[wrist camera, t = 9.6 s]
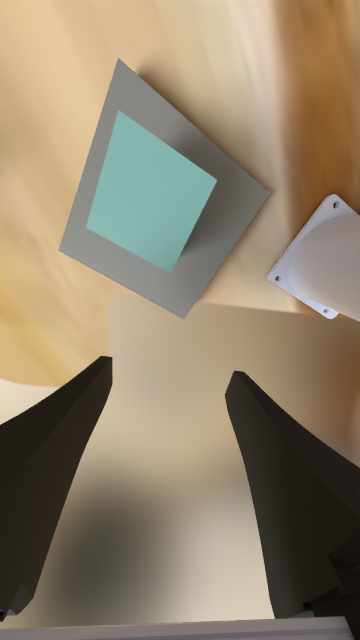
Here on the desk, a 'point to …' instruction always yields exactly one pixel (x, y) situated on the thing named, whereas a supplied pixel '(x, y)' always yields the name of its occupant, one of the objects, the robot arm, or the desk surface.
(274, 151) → the desk surface
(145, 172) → the teal block
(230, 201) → the slate base
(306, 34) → the desk surface
